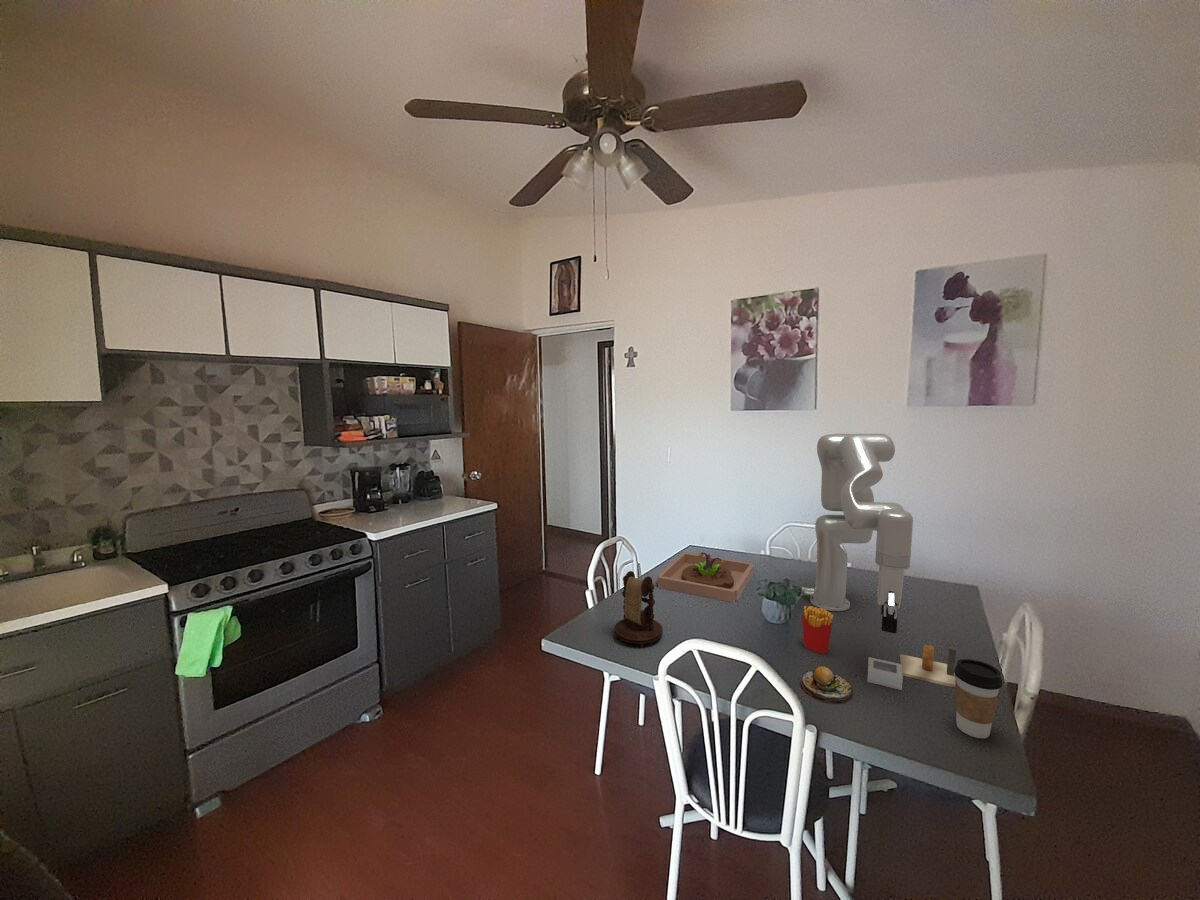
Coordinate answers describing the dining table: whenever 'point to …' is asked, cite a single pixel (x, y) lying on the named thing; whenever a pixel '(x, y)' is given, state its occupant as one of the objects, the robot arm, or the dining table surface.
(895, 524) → the robot arm
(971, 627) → the dining table surface
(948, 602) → the dining table surface
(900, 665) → the link
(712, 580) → the plant
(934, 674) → the keeper
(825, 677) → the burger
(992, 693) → the coffee cup
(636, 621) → the scroll
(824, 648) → the french fries
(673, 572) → the plant saucer
